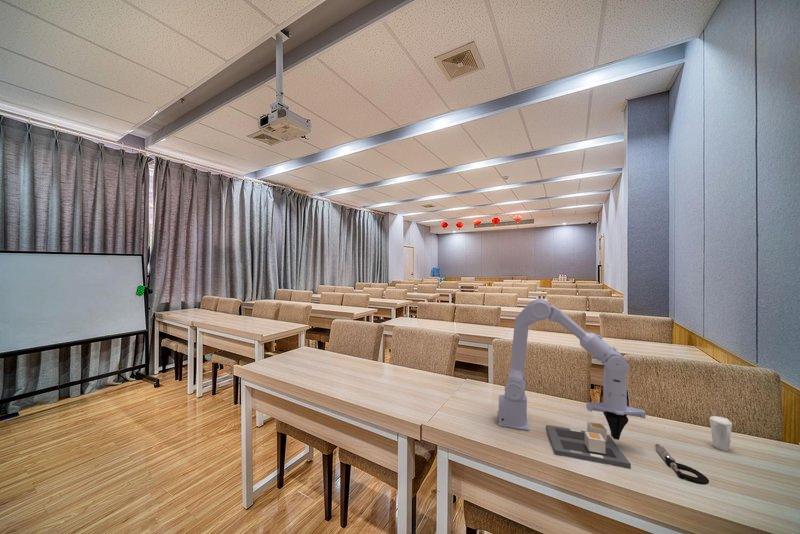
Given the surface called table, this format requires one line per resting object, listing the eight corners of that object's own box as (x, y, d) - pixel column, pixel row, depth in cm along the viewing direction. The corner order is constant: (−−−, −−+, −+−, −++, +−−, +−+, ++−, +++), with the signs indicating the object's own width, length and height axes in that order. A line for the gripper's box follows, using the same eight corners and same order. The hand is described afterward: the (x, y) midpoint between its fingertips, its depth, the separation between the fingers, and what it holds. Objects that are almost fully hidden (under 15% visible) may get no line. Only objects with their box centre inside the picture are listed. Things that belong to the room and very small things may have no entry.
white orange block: (591, 439, 87) (591, 427, 87) (587, 432, 90) (587, 421, 91) (606, 442, 85) (606, 429, 86) (602, 435, 89) (602, 423, 89)
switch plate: (555, 454, 82) (555, 449, 82) (545, 428, 96) (545, 424, 96) (630, 468, 76) (630, 463, 76) (609, 438, 90) (609, 434, 90)
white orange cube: (588, 451, 81) (588, 437, 81) (584, 443, 85) (584, 430, 85) (605, 454, 80) (605, 440, 80) (600, 446, 83) (600, 433, 84)
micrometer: (716, 489, 69) (715, 479, 70) (677, 480, 72) (677, 470, 72) (684, 455, 83) (684, 446, 83) (653, 448, 86) (653, 440, 86)
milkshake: (723, 444, 88) (722, 411, 89) (737, 454, 83) (736, 419, 84) (704, 441, 90) (703, 408, 90) (716, 450, 85) (715, 416, 85)
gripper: (591, 393, 85) (591, 440, 85) (650, 401, 81) (651, 450, 80) (584, 385, 92) (584, 428, 92) (638, 391, 88) (639, 437, 87)
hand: (615, 437), depth 86 cm, fingers closed
